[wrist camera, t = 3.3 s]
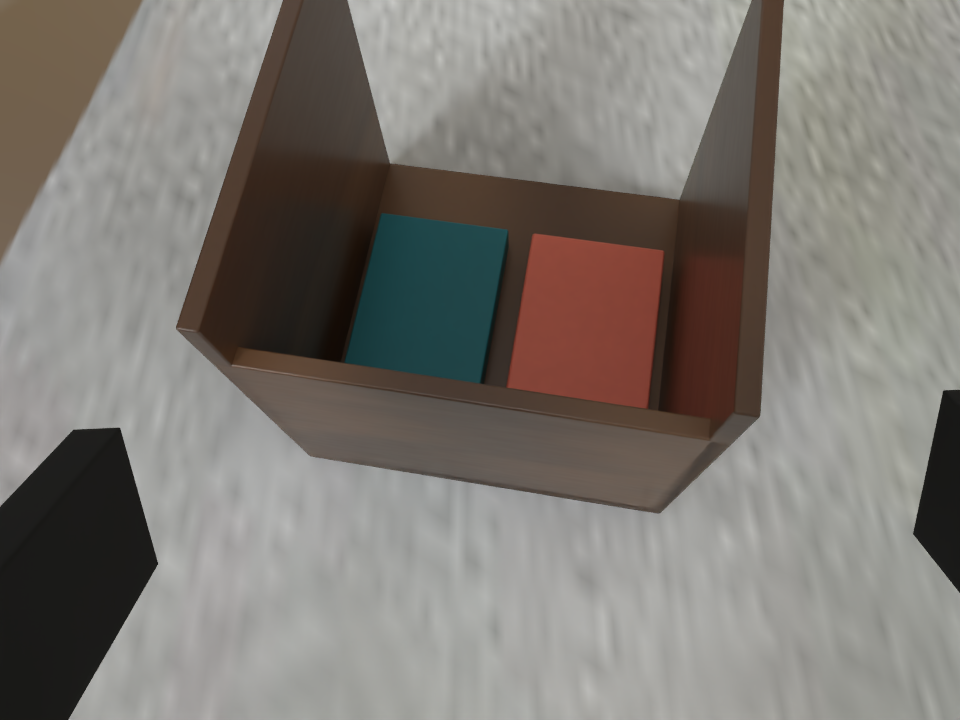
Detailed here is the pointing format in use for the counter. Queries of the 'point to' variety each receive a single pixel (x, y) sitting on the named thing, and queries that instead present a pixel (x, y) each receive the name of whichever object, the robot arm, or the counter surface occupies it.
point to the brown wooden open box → (523, 212)
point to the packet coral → (588, 321)
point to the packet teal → (430, 298)
